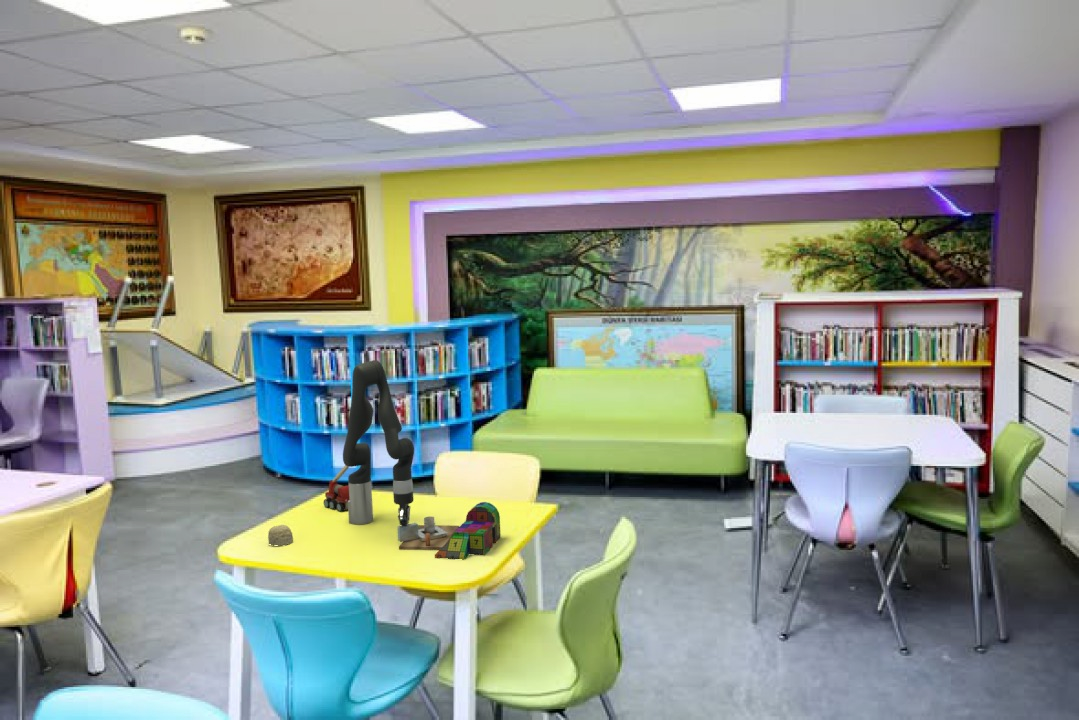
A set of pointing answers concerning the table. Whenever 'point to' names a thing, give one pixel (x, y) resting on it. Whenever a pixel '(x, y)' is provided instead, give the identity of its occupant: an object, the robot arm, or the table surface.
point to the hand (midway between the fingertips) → (405, 533)
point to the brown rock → (280, 535)
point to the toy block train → (474, 533)
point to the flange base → (432, 542)
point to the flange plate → (417, 532)
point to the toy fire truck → (337, 494)
